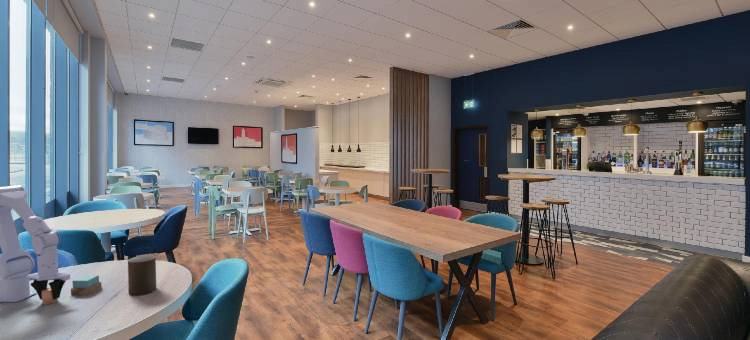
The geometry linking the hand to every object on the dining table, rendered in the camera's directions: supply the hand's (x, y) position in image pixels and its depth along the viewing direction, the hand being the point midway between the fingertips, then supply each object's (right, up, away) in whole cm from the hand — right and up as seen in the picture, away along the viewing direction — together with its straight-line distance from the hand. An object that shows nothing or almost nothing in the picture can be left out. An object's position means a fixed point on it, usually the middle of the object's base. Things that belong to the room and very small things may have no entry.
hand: (49, 298), depth 137 cm
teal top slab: (+6, +2, +10) cm, 12 cm away
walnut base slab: (+6, -1, +10) cm, 12 cm away
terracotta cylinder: (0, -1, 0) cm, 1 cm away
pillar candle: (+29, -1, +11) cm, 31 cm away
